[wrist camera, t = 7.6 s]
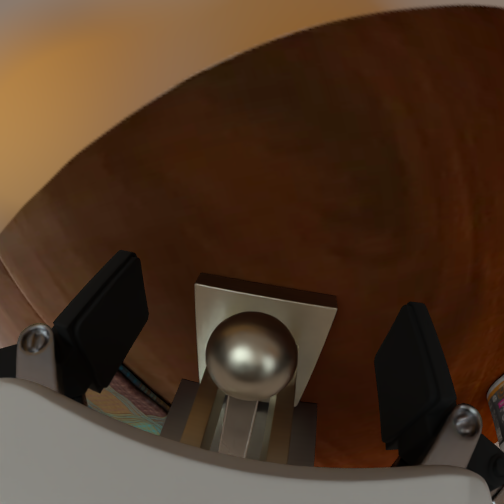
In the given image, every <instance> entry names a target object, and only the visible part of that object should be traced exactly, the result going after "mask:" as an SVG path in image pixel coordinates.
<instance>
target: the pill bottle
mask: <svg viewBox="0 0 504 504" xmlns="http://www.w3.org/2000/svg"><path fill="white" fill-rule="evenodd" d="M487 400H488V404H489V407H490V411H491V414H492V418H493V421H494V425H495V429H496V433H497V437H498V442H499V447H500V449H501V450H502V451H503V452H504V375H503V376H501V377H500V378H499V379H498V380H497V381H496V382H495V383H494V384H493V385H492V386H491V387H490V389H489V391H488V393H487Z"/></svg>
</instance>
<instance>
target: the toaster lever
mask: <svg viewBox="0 0 504 504" xmlns="http://www.w3.org/2000/svg"><path fill="white" fill-rule="evenodd" d="M205 359H206V366H207V369H208V372H209V374H210V376H211V378H212V380H213V381H214V383H215V384H216V385H217V386H218V387H219V388H220V389H221V390H222V391H223V392H225V393H226V394H228V397H227V402H226V408H225V414H224V419H223V425H222V431H221V436H220V442H219V448H218V453H223V454H227V455H232V456H237V457H242V458H246V456H247V451H248V447H249V443H250V439H251V434H252V430H253V426H254V421H255V417H256V412H257V408H258V403H259V400H263V399H267V398H269V397H272V396H274V395H276V394H277V393H279V392H280V391H281V390H282V389H284V388H285V387H286V386H287V384H288V383H289V382H290V380H291V379H292V377H293V375H294V373H295V371H296V367H297V362H298V350H297V345H296V341H295V339H294V337H293V335H292V333H291V332H290V330H289V329H288V328H287V327H286V325H285V324H283V323H282V322H281V321H280V320H278V319H277V318H275V317H273V316H272V315H269V314H266V313H263V312H257V311H247V312H241V313H237V314H235V315H232V316H230V317H228V318H226V319H225V320H224V321H222V322H221V323H220V324H219V325H218V326H217V327H216V328H215V330H214V331H213V332H212V334H211V336H210V338H209V340H208V343H207V347H206V354H205Z"/></svg>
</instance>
